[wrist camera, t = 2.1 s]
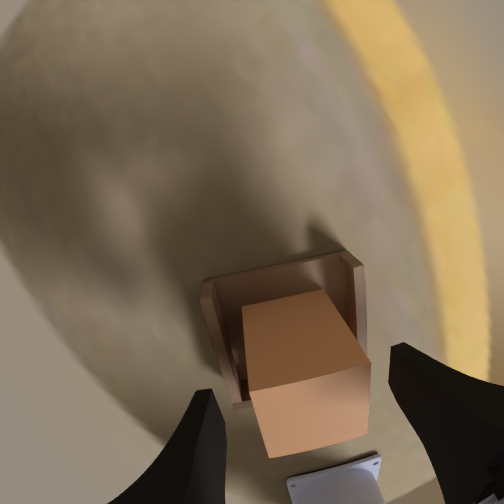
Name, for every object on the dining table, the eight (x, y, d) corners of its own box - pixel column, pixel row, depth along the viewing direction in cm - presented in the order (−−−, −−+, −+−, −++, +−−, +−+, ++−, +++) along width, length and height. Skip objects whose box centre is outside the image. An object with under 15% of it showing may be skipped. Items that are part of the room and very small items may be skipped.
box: (353, 356, 17) (366, 379, 15) (233, 383, 17) (234, 409, 15) (346, 249, 15) (364, 265, 13) (203, 280, 15) (199, 300, 13)
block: (329, 354, 16) (366, 434, 10) (257, 370, 16) (269, 458, 10) (323, 288, 15) (370, 362, 9) (241, 306, 15) (249, 391, 9)
